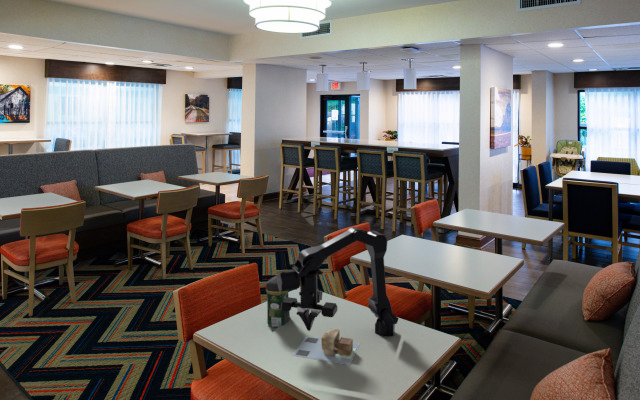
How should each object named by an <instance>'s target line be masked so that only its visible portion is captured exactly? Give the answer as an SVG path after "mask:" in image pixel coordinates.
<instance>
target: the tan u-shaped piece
mask: <svg viewBox="0 0 640 400" xmlns="http://www.w3.org/2000/svg"><path fill="white" fill-rule="evenodd" d="M328 333H329V332H324V334H323V335H322V337H321V338H322V349H323V350H325V344H324V339H325V337H326V336H327V334H328ZM353 341H354V338H347V337H343V336H341V337H340V340H339V342H338V347H336V346H334V352H338V354H343V355H349V356H350V354H351V352H352V350H353V343H354V342H353Z"/></svg>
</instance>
